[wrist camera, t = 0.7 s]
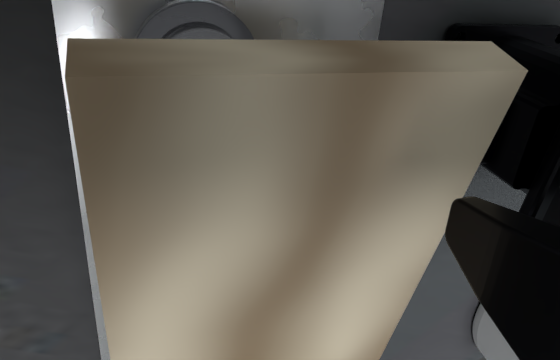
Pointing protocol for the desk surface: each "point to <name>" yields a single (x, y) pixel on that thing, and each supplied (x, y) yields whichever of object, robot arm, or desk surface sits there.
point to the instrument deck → (273, 185)
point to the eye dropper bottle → (490, 338)
